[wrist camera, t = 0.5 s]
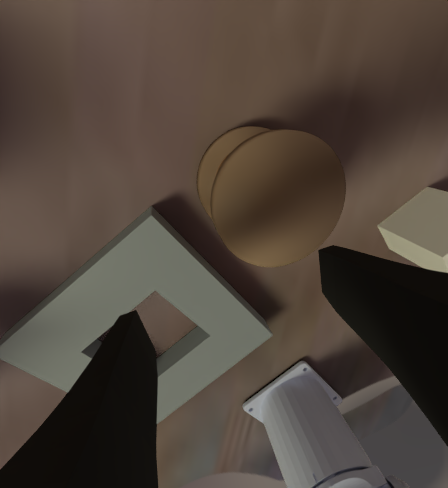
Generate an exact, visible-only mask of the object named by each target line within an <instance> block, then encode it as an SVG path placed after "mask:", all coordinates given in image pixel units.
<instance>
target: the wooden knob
mask: <svg viewBox="0 0 448 488" xmlns="http://www.w3.org/2000/svg"><path fill="white" fill-rule="evenodd" d="M197 190H198V194H199V198H200V200H201V203H202V205H203V207H204V208H205V210H206V212H207V214H208V215H209V216H210V217H211V219H212V220H213V223H214V225H215V228H216V230H217V232H218V234H219V235H220V237H221V239H222V241H223V243H224V244H225V245H226V247H227V248H228V249H229V250H230V251H231V252H232V253H233V254H234V255H235V256H237V257H238V258H240V259H241V260H243V261H245V262H247V263H250V264H253V265H256V266H262V267H278V266H284V265H288V264H291V263H294V262H296V261H298V260H301V259H302V258H304V257H306V256H308V255H309V254H311V253H312V252H313V251H315V250H316V249H317V248H318V247H319V246H320V245H321V244H322V243H323V242H324V241H325V240H326V239H327V238H328V236H329V235H330V234H331V232H332V231H333V229H334V228H335V226H336V224H337V222H338V220H339V218H340V215H341V212H342V210H343V206H344V201H345V194H346V182H345V175H344V171H343V168H342V165H341V163H340V160H339V158H338V157H337V155H336V154H335V152H334V151H333V150H332V148H331V147H330V146H329V145H328V144H326V143H325V142H324V141H323V140H321V139H320V138H318V137H316V136H315V135H312V134H309V133H307V132H302V131H297V130H285V129H277V130H270V129H268V128H263V127H255V126H245V127H239V128H235V129H232V130H230V131H227V132H226V133H224V134H222V135H221V136H219V137H218V138H217V139H216V140H215V141H214V142H213V143H212V144H211V145H210V146H209V147H208V149H207V150H206V152H205V153H204V155H203V157H202V159H201V162H200V164H199V168H198V173H197Z"/></svg>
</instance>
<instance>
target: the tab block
mask: <svg viewBox="0 0 448 488" xmlns="http://www.w3.org/2000/svg"><path fill="white" fill-rule="evenodd" d="M377 226H378V228H379V230H380V232H381V234H382V236H383V237H384V239H385V241H386V243H387V245H388V247H389V249H390V250H392V251H394V252H396V253H398V254H399V255H401V256H403V257H405V258H406V259H408V260H410V261H412V262H414V263H415V264H417V265H419V266H421V267H422V268H424V269H429V270H434V271H439V272H445V273H448V192H446V191H442V190H438V189H434V188H430V187H426V188H425V189H424V190H422V191H421V192H420V193H418V194H417V195H416V196H415V197H413V198H412V199H411V200H409V201H408V202H407V203H406V204H404V205H403V206H402V207H401V208H399V209H398V210H397V211H395V212H394V213H393V214H392V215H390V216H389V217H388V218H386V219H385V220H384V221H383V222H381V223H380V224H379V225H377Z"/></svg>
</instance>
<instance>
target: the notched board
mask: <svg viewBox="0 0 448 488" xmlns="http://www.w3.org/2000/svg"><path fill="white" fill-rule="evenodd" d="M154 291H157V292H158V293H159V294H160V295H162V296H163V297H164V298H165V299H166V300H168V301H169V302H170V303H171V304H172V305H174V306H175V307H176V308H177V309H178V310H180V311H181V312H182V313H183V314H185V315H186V316H187V317H188V318H189V319H191V320H192V321H193V322H194V323H195V324H197V325H198V326H197V327H196V328H194V329H193V330H192V331H191V332H189V333H188V334H187V335H186V336H184V337H183V338H182V339H181V340H179V341H178V342H177V343H176V344H174V345H173V346H172V347H171V348H169V349H168V350H167V351H166V352H164V353H163V354H162V355H161V356H159V357H158V358H157V359H156V361H157V372H158V396H157V424H158V423H159V422H160V421H162V420H163V419H164V418H166V417H167V416H168V415H170V414H171V413H172V412H173V411H175V410H176V409H177V408H179V407H180V406H181V405H183V404H184V403H185V402H186V401H188V400H189V399H190V398H192V397H193V396H194V395H196V394H197V393H198V392H199V391H201V390H202V389H203V388H205V387H206V386H207V385H209V384H210V383H211V382H213V381H214V380H215V379H216V378H218V377H219V376H220V375H222V374H223V373H224V372H226V371H227V370H228V369H229V368H231V367H232V366H233V365H235V364H236V363H237V362H239V361H240V360H241V359H242V358H244V357H245V356H246V355H248V354H249V353H250V352H252V351H253V350H254V349H256V348H257V347H258V346H259V345H261V344H262V343H263V342H265V341H266V340H267V339H269V338H270V337H271V336H272V335H273V334H272V332H271V331H270V329H269V327H268V325H267V323H266V321H265V320H264V319H263V318H262V317H261V316H260V315H259V314H258V313H257V312H256V311H255V310H254V309H253V308H252V307H251V306H250V305H249V303H248V302H247V301H246V300H245V299H244V298H243V297H242V296H241V295H240V294H239V293H238V292H237V291H236V290H235V289H234V288H233V287H232V286H231V285H230V284H229V283H228V282H227V281H226V280H225V279H224V278H223V277H222V276H221V275H220V274H219V273H218V272H217V271H216V270H215V269H214V268H213V267H212V266H211V265H210V264H209V263H208V262H207V261H206V260H205V259H204V258H203V257H202V256H201V255H200V254H199V253H198V252H197V251H196V250H195V249H194V248H193V247H192V246H191V245H190V244H189V243H188V242H187V241H186V240H185V239H184V238H183V237H182V236H181V235H180V234H179V233H178V232H177V231H176V230H175V229H174V228H173V227H172V226H171V225H170V224H169V223H168V222H167V221H166V220H165V219H164V218H163V217H162V216H161V215H160V214H159V213H158V212H157V211H156V210H155V209H154V208H153V207H152V206H151V207H150V208H148V209H147V210H146V211H145V212H144V213H143V214H141V215H140V216H139V217H138V218H137V219H136V220H135V221H133V222H132V223H131V224H130V225H129V226H128V227H127V228H125V229H124V230H123V231H122V232H121V233H120V234H118V235H117V236H116V237H115V238H114V239H113V240H112V241H110V242H109V243H108V244H107V245H106V246H105V247H103V248H102V249H101V250H100V251H99V252H98V253H97V254H95V255H94V256H93V257H92V258H91V259H90V260H89V261H87V262H86V263H85V264H84V265H83V266H82V267H80V268H79V269H78V270H77V271H76V272H75V273H74V274H72V275H71V276H70V277H69V278H68V279H67V280H66V281H64V282H63V283H62V284H61V285H60V286H59V287H57V288H56V289H55V290H54V291H53V292H52V293H51V294H49V295H48V296H47V297H46V298H45V299H44V300H43V301H41V302H40V303H39V304H38V305H37V306H36V307H34V308H33V309H32V310H31V311H30V312H29V313H28V314H26V315H25V316H24V317H23V318H22V319H21V320H19V321H18V322H17V323H16V324H15V325H14V326H13V327H11V328H10V329H9V330H8V331H7V332H6V333H5V334H4V335H3V337H2V338H1V340H0V359H1V360H3V361H5V362H7V363H9V364H11V365H13V366H15V367H17V368H19V369H21V370H23V371H25V372H27V373H29V374H31V375H33V376H35V377H37V378H39V379H41V380H44V381H46V382H48V383H50V384H52V385H54V386H56V387H58V388H60V389H62V390H64V391H66V392H69V390H70V389H71V388H72V386H73V385H74V383H75V382H76V381H77V379H78V378H79V376H80V375H81V374H82V372H83V371H84V369H85V368H86V367H87V365H88V364H89V362H90V361H91V359H92V358H93V356H94V355H95V353H96V352H97V350H98V349H99V347H100V345H101V344H102V342H101V341H99V340H98V339H97V338H98V337H99V336H101V335H102V334H103V333H104V332H106V331H107V330H108V329H109V328H110V327H112V326H113V325H114V323H115V322H116V320H117V319H118V317H119V316H120V315H123V314H126V313H128V312H130V311H131V310H132V309H133V308H134V307H136V306H137V305H138V304H139V303H140V302H142V301H143V300H144V299H145V298H147V297H148V296H149V295H150V294H151V293H153V292H154Z"/></svg>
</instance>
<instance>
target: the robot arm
mask: <svg viewBox="0 0 448 488" xmlns="http://www.w3.org/2000/svg"><path fill="white" fill-rule="evenodd" d="M318 251H319V262H320V273H321V284H322V293H323V294H324V295H325V297H326V298H327V300H328V301H329V303H330V304H331V305H332V307H333V308H334V309H335V311H336V312H337V313H338V314H339V315H340V316H341V317H342V319H343V320H344V321H345V322H346V323H347V324H348V325H349V326H350V327H351V328H352V329H353V330H354V331H355V332H356V333H357V334H358V335H359V336H360V337H361V339H362V340H363V341H364V342H365V343H366V344H367V345H368V346H369V347H370V348H371V349H372V350H373V351H374V352H375V353H376V354H377V355H378V356H379V357H380V359H381V360H382V361H383V362H384V363H385V364H386V365H387V366H388V368H389V369H390V370H391V371H392V373H393V374H394V375H395V376H396V378H397V379H398V380H399V381H400V383H401V384H402V385H403V387H404V388H405V389H406V390H407V392H408V393H409V394H410V396H411V397H412V398H413V400H414V401H415V402H416V404H417V405H418V406H419V408H420V409H421V410H422V412H423V413H424V414H425V416H426V417H427V418H428V419H429V421H430V422H431V424H432V425H433V427H434V428H435V429H436V431H437V432H438V434H439V435H440V436H441V438H442V439H443V441H444V442H445V443H446V445H447V446H448V273H445V272H439V271H434V270H429V269H424V268H419V267H415V266H411V265H406V264H402V263H398V262H394V261H390V260H386V259H383V258H379V257H375V256H372V255H368V254H365V253H361V252H358V251H354V250H350V249H347V248H343V247H339V246H334V245H332V246H329V247H326V248H323V249H320V250H318ZM157 396H158V372H157V361H156V352H155V348H154V346H153V344H152V342H151V340H150V338H149V336H148V334H147V332H146V330H145V328H144V325H143V323H142V321H141V319H140V317H139V315H138V313H137V311H136V310H135V311H132V312H129V313H126V314H123V315H120V316H119V317H118V319H117V320H116V322H115V323H114V325H113V326H112V328H111V330H110V331H109V333H108V334H107V336H106V338H105V339H104V341H103V342H102V344H101V345H100V347H99V349H98V350H97V352H96V353H95V355H94V356H93V358H92V359H91V361H90V362H89V364H88V365H87V367H86V368H85V369H84V371H83V372H82V374H81V375H80V376H79V378H78V379H77V381H76V382H75V383H74V385H73V386H72V388H71V389H70V390H69V392H68V393H67V394H66V396H65V397H64V398H63V399H62V401H61V402H60V403H59V405H58V406H57V407H56V408H55V409H54V411H53V412H52V413H51V414H50V415H49V417H48V418H47V419H46V420H45V421H44V423H43V424H42V425H41V426H40V427H39V428H38V430H37V431H36V432H35V433H34V434H33V435H32V436H31V437H30V438H29V439H28V440H27V442H26V443H25V444H24V445H23V446H22V447H21V448H20V449H19V450H18V451H17V452H16V453H15V455H14V456H13V457H12V458H11V459H10V460H9V461H8V462H7V463H6V464H5V465H4V466H3V467H2V468H1V469H0V488H158V476H157V460H156V430H157ZM341 402H342V398H341V397H340V396H339V395H338V394H337V393H336V392H335V391H334V390H333V389H332V388H331V387H330V386H329V385H328V384H327V383H326V382H325V381H324V380H323V379H322V378H321V377H320V376H319V375H318V374H317V373H316V372H315V371H314V370H313V369H312V368H311V367H310V366H309V365H308V364H307V363H306V362H305V361H300V362H298V363H297V364H296V365H294V366H293V367H292V368H290V369H289V370H288V371H286V372H285V373H284V374H282V375H281V376H280V377H278V378H277V379H276V380H274V381H273V382H272V383H270V384H269V385H268V386H266V387H265V388H264V389H262V390H261V391H260V392H258V393H257V394H256V395H254V396H253V397H252V398H250V399H249V400H248V401H246V402H245V403H244V404H243V409H244V410H245V411H246V412H247V413H249V414H250V415H252V416H253V417H255V418H256V419H258V420H259V421H260V422H262V423H263V424H264V425H265V428H266V431H267V433H268V436H269V439H270V442H271V444H272V447H273V450H274V453H275V456H276V458H277V461H278V464H279V467H280V469H281V472H282V475H283V478H284V481H285V483H286V486H287V488H410V487H409V486H408V485H407V484H406V483H405V482H404V481H402V480H400V479H398V478H396V477H395V476H393V475H389V476H387V477H385V478H384V476H383V475H382V473H381V471H380V470H379V468H378V467H377V465H374V466H372V464H371V462H370V460H369V458H368V456H367V454H366V453H365V451H364V450H363V448H362V446H361V445H360V443H359V442H358V440H357V438H356V437H355V435H354V434H353V432H352V431H351V429H350V427H349V426H348V424H347V423H346V421H345V419H344V418H343V416H342V415H341V413H340V411H339V410H338V408H337V407H336V406H338V405H339V404H340V403H341Z"/></svg>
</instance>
